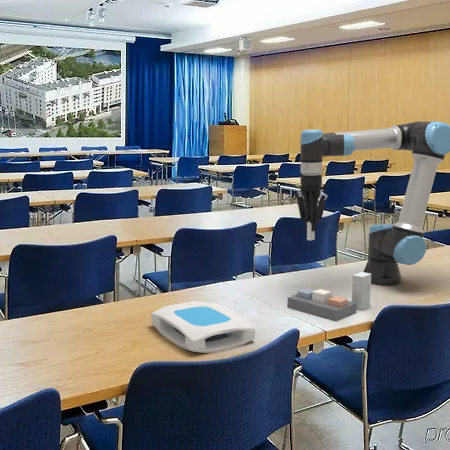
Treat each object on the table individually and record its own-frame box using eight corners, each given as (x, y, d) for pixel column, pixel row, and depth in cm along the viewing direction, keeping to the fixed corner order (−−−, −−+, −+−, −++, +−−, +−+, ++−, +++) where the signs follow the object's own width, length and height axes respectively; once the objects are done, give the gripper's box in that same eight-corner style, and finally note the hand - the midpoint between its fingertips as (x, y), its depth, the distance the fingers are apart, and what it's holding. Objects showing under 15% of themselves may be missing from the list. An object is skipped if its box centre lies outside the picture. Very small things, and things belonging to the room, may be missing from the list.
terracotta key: (335, 307, 204) (335, 296, 203) (347, 310, 201) (347, 299, 200) (327, 310, 201) (328, 298, 200) (339, 313, 197) (339, 301, 197)
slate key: (304, 299, 213) (305, 288, 212) (315, 302, 209) (316, 291, 209) (297, 302, 209) (297, 291, 209) (307, 305, 206) (308, 293, 205)
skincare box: (358, 304, 212) (360, 271, 210) (370, 306, 209) (371, 273, 207) (350, 308, 207) (352, 274, 205) (362, 310, 205) (363, 276, 202)
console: (308, 299, 216) (308, 290, 216) (356, 312, 203) (356, 302, 202) (287, 307, 208) (287, 297, 207) (336, 321, 194) (336, 310, 194)
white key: (319, 300, 208) (320, 288, 207) (331, 302, 205) (331, 291, 204) (312, 302, 205) (312, 291, 204) (323, 305, 202) (323, 294, 201)
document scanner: (193, 357, 165) (193, 336, 163) (150, 327, 188) (150, 308, 187) (256, 343, 175) (256, 322, 174) (208, 316, 199) (208, 297, 198)
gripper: (289, 174, 213) (289, 239, 217) (321, 176, 204) (320, 243, 209) (302, 172, 218) (301, 235, 223) (332, 174, 210) (332, 240, 214)
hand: (310, 239), depth 216 cm, fingers closed
